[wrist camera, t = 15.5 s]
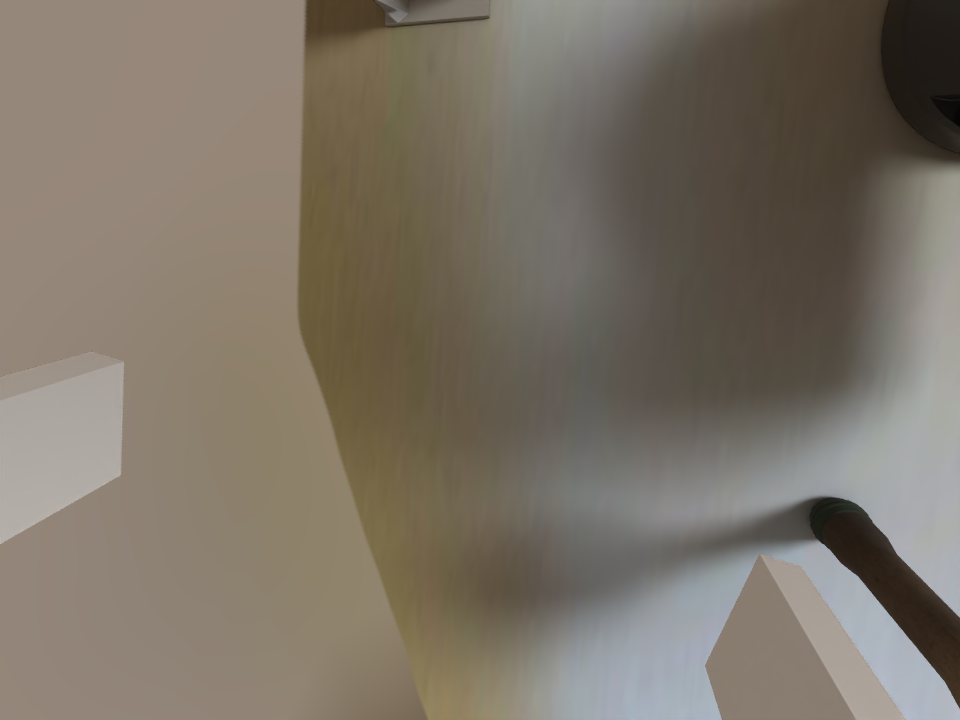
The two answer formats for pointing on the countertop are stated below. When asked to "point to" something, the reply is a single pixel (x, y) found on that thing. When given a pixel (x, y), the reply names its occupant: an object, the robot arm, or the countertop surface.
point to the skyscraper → (432, 11)
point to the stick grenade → (892, 584)
